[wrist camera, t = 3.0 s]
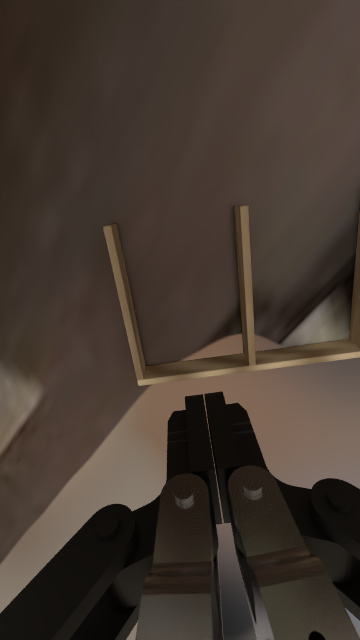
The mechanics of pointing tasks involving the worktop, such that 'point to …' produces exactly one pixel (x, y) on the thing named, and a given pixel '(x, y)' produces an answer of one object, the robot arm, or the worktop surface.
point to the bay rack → (249, 359)
